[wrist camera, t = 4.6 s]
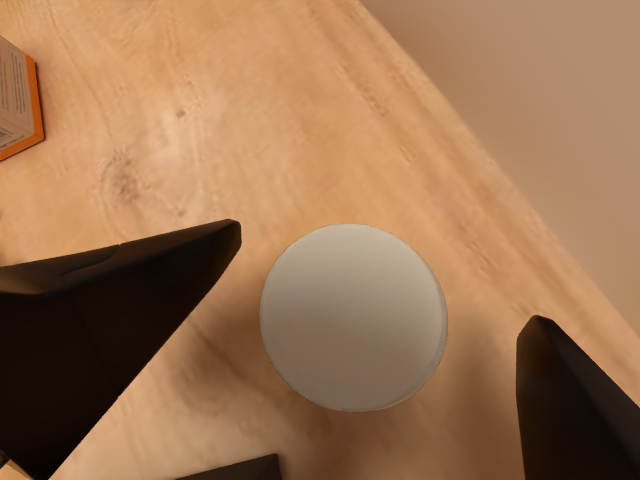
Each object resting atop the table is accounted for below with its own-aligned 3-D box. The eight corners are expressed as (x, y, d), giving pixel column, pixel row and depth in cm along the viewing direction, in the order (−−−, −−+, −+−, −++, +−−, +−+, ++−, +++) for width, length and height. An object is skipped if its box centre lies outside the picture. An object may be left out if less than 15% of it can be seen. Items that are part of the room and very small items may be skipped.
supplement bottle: (386, 394, 15) (401, 525, 6) (293, 334, 16) (183, 357, 7) (437, 295, 15) (527, 263, 6) (343, 245, 17) (303, 160, 8)
